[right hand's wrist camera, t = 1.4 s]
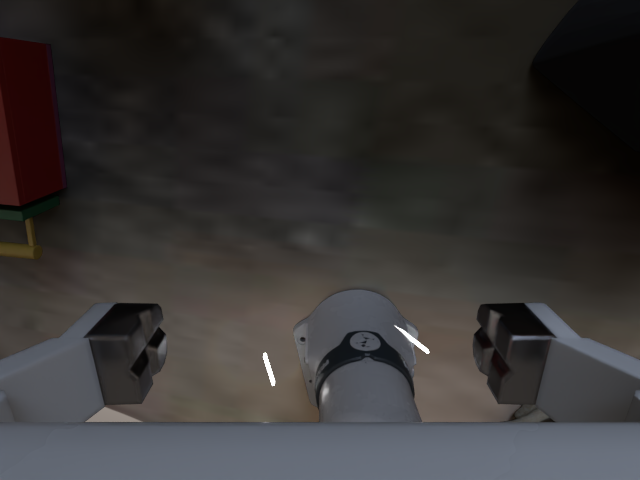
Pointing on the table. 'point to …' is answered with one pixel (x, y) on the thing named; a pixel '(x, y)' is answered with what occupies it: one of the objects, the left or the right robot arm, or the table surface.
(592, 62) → the handbag
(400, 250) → the table surface
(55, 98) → the dark red block
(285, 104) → the table surface
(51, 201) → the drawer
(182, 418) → the table surface
